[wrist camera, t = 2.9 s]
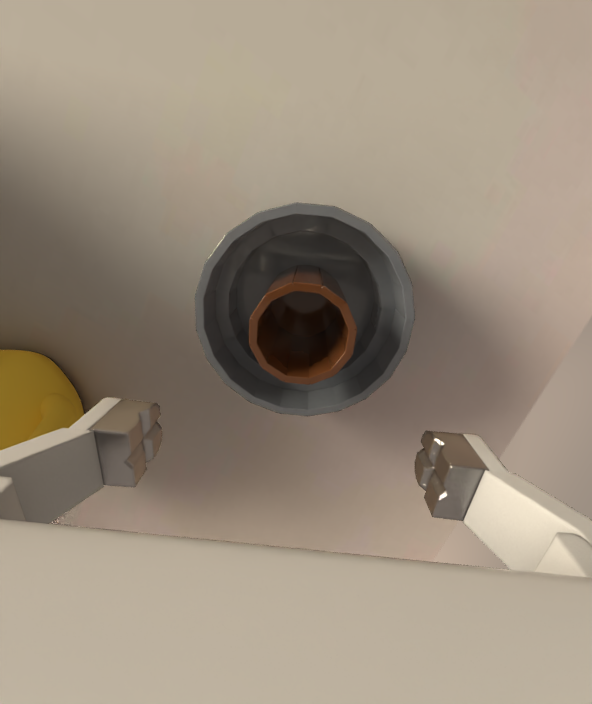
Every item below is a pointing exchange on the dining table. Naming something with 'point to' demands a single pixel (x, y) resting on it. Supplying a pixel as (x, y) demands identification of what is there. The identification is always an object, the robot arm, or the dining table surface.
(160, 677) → the robot arm
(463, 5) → the dining table surface
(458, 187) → the dining table surface
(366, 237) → the grey round tub
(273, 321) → the cup
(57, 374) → the teapot
